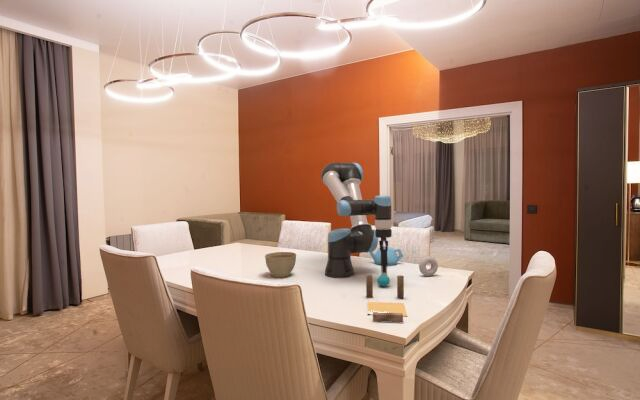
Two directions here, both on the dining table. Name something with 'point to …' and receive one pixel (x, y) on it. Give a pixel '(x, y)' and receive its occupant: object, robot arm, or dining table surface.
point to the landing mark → (387, 307)
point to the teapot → (391, 256)
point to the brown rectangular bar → (388, 317)
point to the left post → (369, 286)
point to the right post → (400, 287)
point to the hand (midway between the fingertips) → (384, 278)
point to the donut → (424, 262)
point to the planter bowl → (280, 263)
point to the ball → (383, 280)
